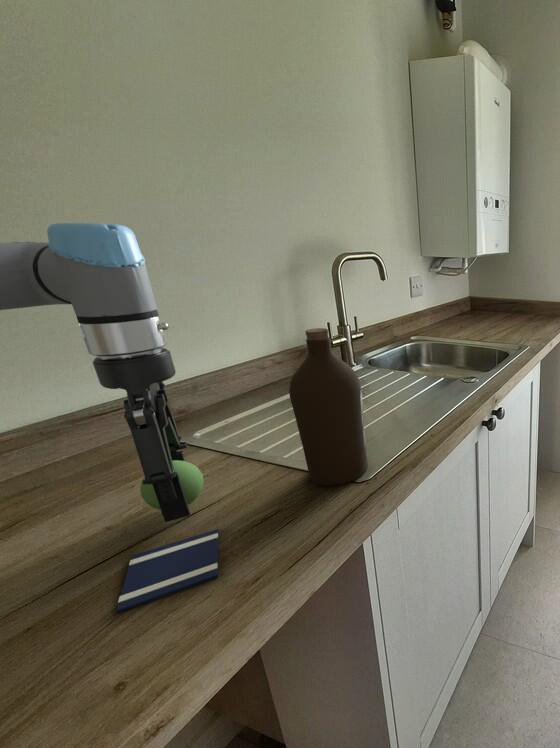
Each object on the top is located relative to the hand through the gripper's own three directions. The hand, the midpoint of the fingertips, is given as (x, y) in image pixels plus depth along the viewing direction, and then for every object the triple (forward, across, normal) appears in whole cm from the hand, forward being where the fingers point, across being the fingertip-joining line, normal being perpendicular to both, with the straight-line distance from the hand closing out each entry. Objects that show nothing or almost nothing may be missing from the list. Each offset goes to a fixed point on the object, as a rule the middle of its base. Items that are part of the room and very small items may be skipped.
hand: (180, 503), depth 60 cm
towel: (+2, -13, 0) cm, 13 cm away
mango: (-3, 0, 0) cm, 3 cm away
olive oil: (+2, -1, -22) cm, 22 cm away
